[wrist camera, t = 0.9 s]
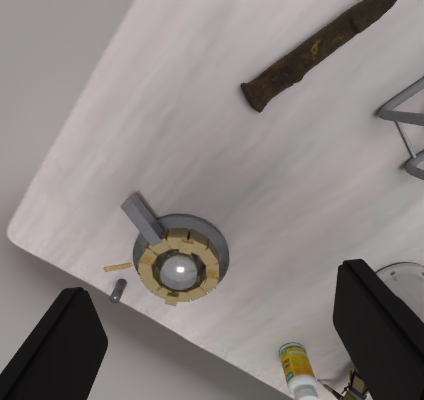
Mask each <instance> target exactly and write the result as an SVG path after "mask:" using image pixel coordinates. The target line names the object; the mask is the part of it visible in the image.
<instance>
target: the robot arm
mask: <svg viewBox="0 0 424 400" xmlns="http://www.w3.org/2000/svg"><path fill="white" fill-rule="evenodd" d="M333 323H334V326H335V329H336V331H337V333H338V335H339V336H340V338H341V340H342V342H343V344H344V346H345V348H346V350H347V351H348V353H349V355H350V357H351V359H352V361H353V363H354V365H355V367H356V368H357V370H358V372H359V374H360V376H361V378H362V380H363V382H364V384H365V385H366V387H367V389H368V391H369V393H370V395H371V397H372V399H373V400H424V267H423V266H421V265H418V264H414V263H400V264H396V265H392V266H389V267H386V268H384V269H382V270H380V271H379V272H377V273H375V272H374V271H373V270H372V269H371V268H370V267H369V266H368V264H367V263H366V262H365V261H364V260H362V259H355V260H345V261H344V262H343V264H342V265H339V267H338V274H337V284H336V293H335V302H334V311H333ZM107 347H108V339H107V336H106V334H105V332H104V329H103V326H102V324H101V322H100V319H99V317H98V315H97V312H96V310H95V307H94V305H93V303H92V300H91V298H90V295H89V293H88V292H87V291H84V289H83V288H81V287H76V288H66V289H64V290H63V291H62V292H61V293H60V294H59V296H58V297H57V298H56V300H55V301H54V302H53V304H52V305H51V306H50V308H49V309H48V311H47V312H46V313H45V315H44V316H43V317H42V319H41V320H40V321H39V323H38V324H37V325H36V327H35V328H34V329H33V331H32V332H31V334H30V335H29V336H28V338H27V339H26V340H25V342H24V343H23V344H22V346H21V347H20V348H19V350H18V351H17V353H16V354H15V355H14V357H13V358H12V359H11V361H10V362H9V363H8V365H7V366H6V367H5V369H4V370H3V371H2V373H1V374H0V400H87V398H88V395H89V393H90V390H91V388H92V385H93V383H94V380H95V378H96V375H97V373H98V370H99V368H100V365H101V363H102V360H103V358H104V355H105V353H106V350H107Z"/></svg>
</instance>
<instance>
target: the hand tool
mask: <svg viewBox="0 0 424 400" xmlns="http://www.w3.org/2000/svg"><path fill="white" fill-rule="evenodd" d="M396 1H397V0H364V1H362V2H360V3H358V4H356V5H355V6H353V7H352V8H350V9H349V10H347V11H346V12H344V13H343V14H341V15H340V16H339V17H338V18H337V19H336V20H334V21H333V22H331V23H330V24H329V25H327V26H326V27H324V28H323V29H322V30H320V31H319V32H317V33H316V34H315V35H313V36H312V37H311V38H309V39H308V40H306V41H305V42H304V43H302V44H301V45H300V46H299V47H297V48H296V49H295V50H293V51H292V52H290V53H289V54H288V55H286V56H284V57H283V58H281V59H280V60H278V61H277V62H276V63H275V64H273V65H272V66H271V67H269V68H268V69H267V70H266V71H264V72H263V73H262V74H261V75H260V76H258V77H257V78H256V79H254V80H253V81H251V82H250V83H247V84H246V83H242V84H241V88H242V90H243V93H244V94H245V96H246V98H247V100H248V102H249V104H250V105H251V106H252V108H254V109H255V110H256V111H258V112H259V113H260V112H262V110H263V109H264V107H265V106H266V105H267V103H268V102H269V101H270V100H271V99H272V98H273V97H275V96H276V95H277V94H279V93H280V92H281V91H283V90H285V89H286V88H288V87H290V86H292V85H293V84H294V83H297V82H300V81H301V80H302V78H303V76H304V75H305V74H306V73H307V72H308V71H309V70H310V69H312V68H313V67H314V66H316V65H317V64H319V63H320V62H321V61H323V60H324V59H325V58H326V57H327V56H329V55H330V54H331V53H333V52H334V51H335V50H336V49H338V48H339V47H340V46H342V45H343V44H345V43H346V42H347V41H349V40H350V39H351V38H353V37H354V36H355V35H356V34H358V33H360V32H362V31H364V30H365V29H366V28H368V27H369V26H370V25H371V24H373V23H374V22H375V21H377V20H378V19H380V17H381V16H382V15H383V14H384V13H386V12H387V11H388V10H389V9H390V8H391V7H392V6H393V5H394V4H395V2H396Z"/></svg>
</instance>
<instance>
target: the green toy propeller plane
mask: <svg viewBox="0 0 424 400" xmlns="http://www.w3.org/2000/svg"><path fill="white" fill-rule="evenodd" d="M352 371H353V370H351V371H350V383H348V384H349V385H348V386H347V387H345V388H344V391H347V388H349V390H348V391H347V392H346V394H345V396H344V397H343V396H342V394H343V393H344V391H343V392H342V393H341V394H339V393H337V392H336V391H335V390H333V389H332V388H330V387H329V386H327V385H326V384H323V383H322V382H321V381H319V380H317V381H318V382H319V383H320V384H322V385H323V386H324V387H325V388H326V389H327V390H328V391H330V392H331V393H332V394H333V395H334V396H335V397H336V398H337V399H338V400H365V399H366V397H367V395H366V394H367V393H368V392H369V391H368V389H367V387H366V385H365V384H364V382H363V380H362V378H361V376H360V374H359V372H358V370H357V368H356V367H355V365H354V373H352ZM352 374H353V375H352Z"/></svg>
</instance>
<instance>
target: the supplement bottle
mask: <svg viewBox="0 0 424 400" xmlns="http://www.w3.org/2000/svg"><path fill="white" fill-rule="evenodd" d="M280 358H281V362H282V366H283V370H284V373H285V377H286V381H287V385H288V388H289V390H290V392H291V393H292V394H294V395H295V400H319V398H318V395H317V392H316V389H317V382H316V379H315V376H314V373H313V371H312V368H311V365H310V363H309V360H308V357H307V355H306V352H305V349H304V348H303V347H302V346H301V345H300V344H297V343H290V344H286V345H285V346H283V347H282V348H281V350H280Z"/></svg>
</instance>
